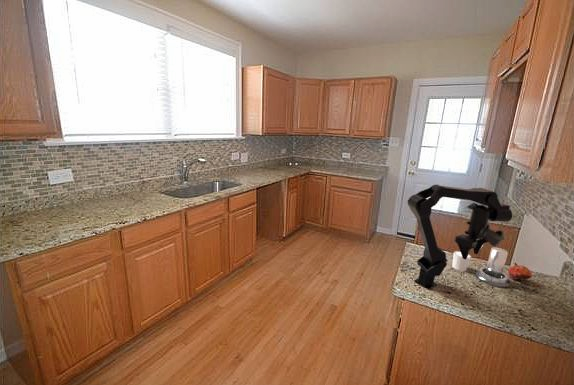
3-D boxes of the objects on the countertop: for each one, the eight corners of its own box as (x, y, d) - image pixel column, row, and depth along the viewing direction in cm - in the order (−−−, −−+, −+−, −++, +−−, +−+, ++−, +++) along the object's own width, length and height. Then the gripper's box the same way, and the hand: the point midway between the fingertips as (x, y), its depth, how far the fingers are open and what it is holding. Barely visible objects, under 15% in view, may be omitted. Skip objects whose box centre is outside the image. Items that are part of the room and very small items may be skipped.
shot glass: (451, 262, 127) (454, 249, 125) (468, 267, 123) (472, 254, 121) (449, 268, 122) (452, 254, 120) (467, 273, 118) (470, 259, 116)
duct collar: (502, 290, 106) (504, 284, 105) (469, 275, 116) (471, 269, 115) (514, 282, 112) (516, 276, 111) (482, 269, 122) (484, 263, 121)
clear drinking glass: (496, 282, 110) (504, 254, 107) (481, 275, 115) (489, 248, 111) (502, 278, 113) (510, 251, 109) (487, 272, 117) (494, 246, 114)
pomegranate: (531, 289, 112) (524, 267, 117) (538, 283, 106) (531, 260, 112) (509, 286, 114) (504, 265, 120) (515, 280, 109) (509, 258, 115)
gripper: (492, 232, 90) (481, 272, 94) (514, 223, 100) (503, 260, 104) (458, 221, 100) (450, 258, 104) (481, 214, 109) (473, 248, 113)
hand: (470, 256), depth 106 cm, fingers open, 9 cm apart
